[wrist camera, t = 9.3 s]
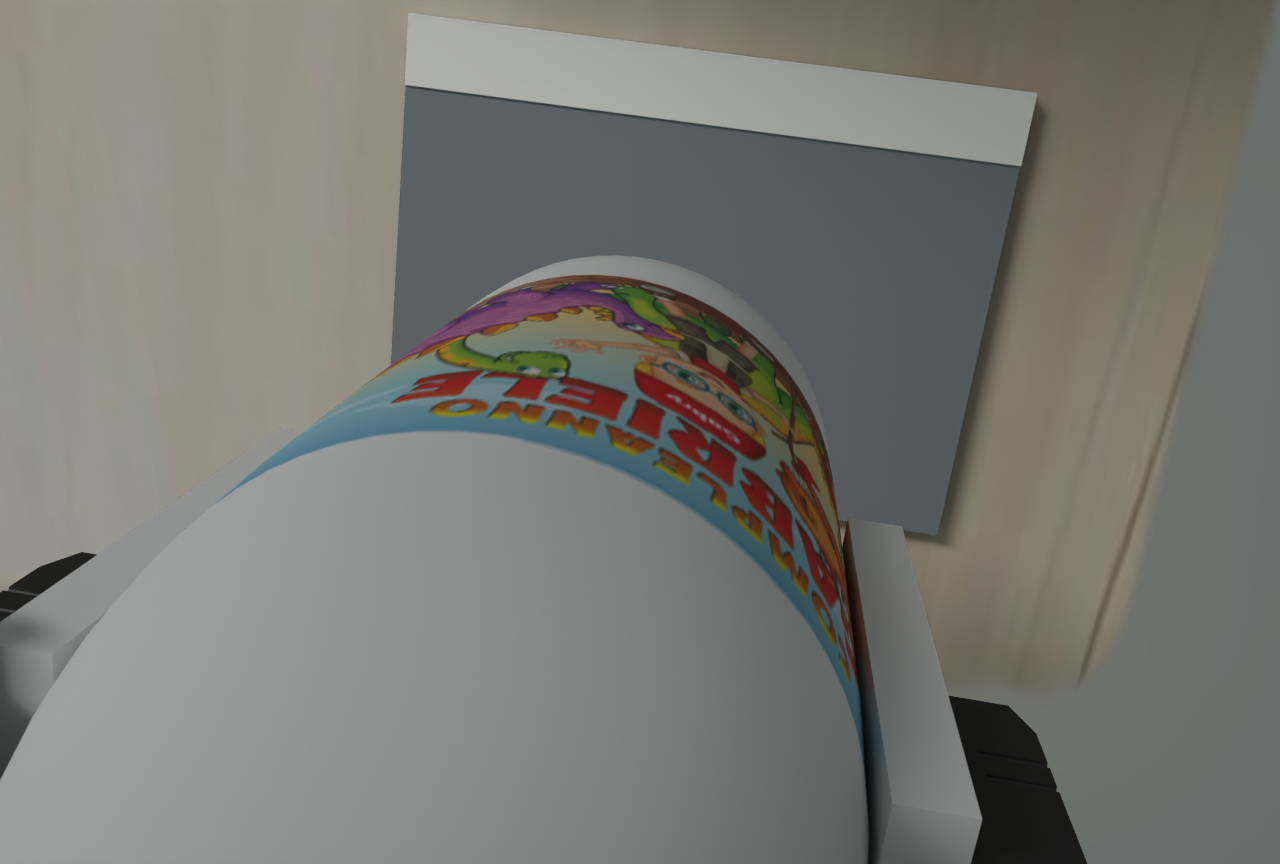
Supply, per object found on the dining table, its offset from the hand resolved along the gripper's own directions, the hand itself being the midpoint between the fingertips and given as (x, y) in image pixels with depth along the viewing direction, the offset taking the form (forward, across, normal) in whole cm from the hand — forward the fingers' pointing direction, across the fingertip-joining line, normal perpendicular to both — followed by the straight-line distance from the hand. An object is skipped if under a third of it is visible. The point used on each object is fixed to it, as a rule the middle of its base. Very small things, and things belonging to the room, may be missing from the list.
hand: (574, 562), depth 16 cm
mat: (+19, 0, +1) cm, 19 cm away
